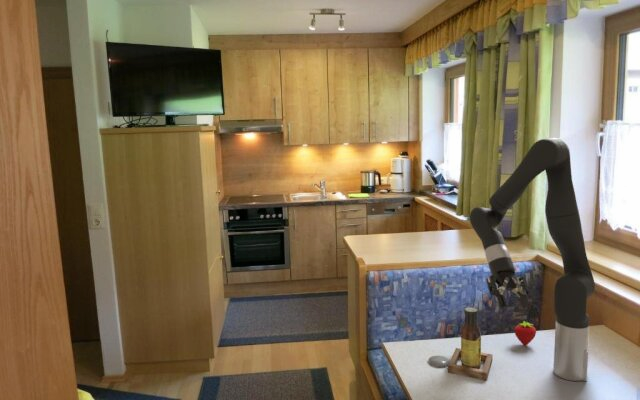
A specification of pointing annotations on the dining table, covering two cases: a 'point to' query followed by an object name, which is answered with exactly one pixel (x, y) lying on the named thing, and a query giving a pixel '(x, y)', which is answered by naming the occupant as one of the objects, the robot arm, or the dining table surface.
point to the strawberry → (525, 332)
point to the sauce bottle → (471, 340)
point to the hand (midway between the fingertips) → (515, 307)
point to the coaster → (439, 361)
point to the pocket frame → (469, 371)
